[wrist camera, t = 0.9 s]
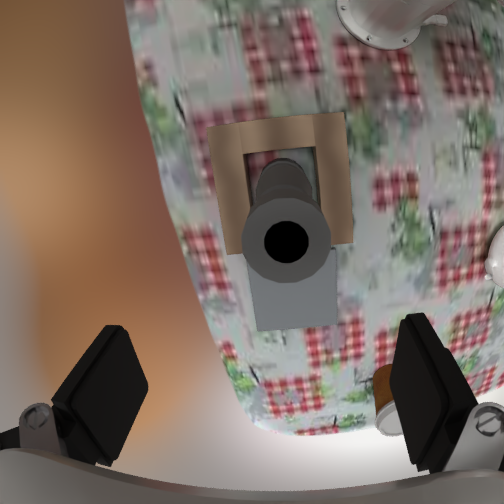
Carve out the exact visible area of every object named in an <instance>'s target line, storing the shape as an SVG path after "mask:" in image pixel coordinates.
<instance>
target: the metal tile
mask: <svg viewBox="0 0 504 504" xmlns="http://www.w3.org/2000/svg"><path fill="white" fill-rule="evenodd" d="M246 261H247V260H246ZM247 267H248V274H249V280H250V287H251V293H252V300H253V306H254V313H255V319H256V325H257V331H270V330H283V329H295V328H307V327H317V326H327V325H336V324H337V274H336V249H335V248H331V250H330V253H329V255H328V257H327V259H326V262H325V264H324V265H323V266H322V267H321V268H320V269H319V270H318V271H317V272H316V273H315V274H314V275H313V276H311V277H309V278H306V279H304V280H301V281H299V282H297V283H277V282H274V281H271V280H268V279H265V278H263V277H262V276H260V275H259V274H258V273H257V272H256V271H254V270H253V269H252V268H251V267H250V266H249V264H248V262H247Z"/></svg>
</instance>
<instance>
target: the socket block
mask: <svg viewBox="0 0 504 504" xmlns="http://www.w3.org/2000/svg"><path fill="white" fill-rule="evenodd" d="M206 130H207V136H208V143H209V149H210V156H211V162H212V168H213V175H214V181H215V187H216V193H217V199H218V205H219V211H220V217H221V223H222V229H223V235H224V241H225V247H226V252H227V255H231V254H241V253H242V242H241V234H242V231H243V228H244V225H245V222H246V220H247V217H248V214H249V211H250V209H251V207H252V206H253V199H252V192H251V185H250V178H249V171H248V164H247V157H246V153H254V152H262V151H270V150H279V149H289V148H299V147H310V146H312V147H313V156H314V165H315V175H316V186H317V197H318V205H319V207H320V209H321V211H322V213H323V215H324V217H325V219H326V221H327V224H328V226H329V228H330V231H331V245H335V244H346V243H353V219H352V199H351V183H350V169H349V157H348V147H347V137H346V127H345V119H344V112H339V113H322V114H309V115H297V116H287V117H277V118H268V119H260V120H252V121H245V122H238V123H231V124H225V125H219V126H213V127H207V128H206Z"/></svg>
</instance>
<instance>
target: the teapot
mask: <svg viewBox="0 0 504 504" xmlns="http://www.w3.org/2000/svg"><path fill="white" fill-rule="evenodd" d="M485 269H486V272H487V275H486V276H485V279H486V280H490V279H493V281H494V282H495V283H496V284H497V285H499V286H500V287H502V288H504V225H503V226H502V227H501V228H500V229H499V231H498V232H497V233H496V235H495V236H494V238H493V240H492V243H491V245H490V249H489V253H488V258H487V259H486V261H485Z"/></svg>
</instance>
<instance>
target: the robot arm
mask: <svg viewBox="0 0 504 504" xmlns="http://www.w3.org/2000/svg"><path fill="white" fill-rule="evenodd" d="M455 1H456V0H336V7H337V13H338V15H339V18H340V20H341V22H342V23H343V25H344V26H345V28H346V29H347V30H348V31H349V32H350V33H351V34H352V35H353V36H354V37H355V38H357V39H358V40H360V41H361V42H363V43H365V44H367V45H369V46H371V47H374V48H378V49H382V50H397V49H401V48H404V47H406V46H408V45H409V44H411V43H412V42H413V41H414V40H415V39H416V38H417V37H418V35H419V33H420V30H421V26H422V25H425V26H427V25H428V24H434V25H437V26H443V27H446V26H447V23H448V21H447V17H446V16H445V15H441V14H436V13H437V12H439V11H441V10H442V9H444V8H445V7H447V6H448V5H450V4H452V3H453V2H455ZM497 1H498V2H499V3H500V4H501V5H502V6H503V7H504V0H497ZM341 9H344V11H343V10H341ZM366 38H368V39H369V41H368V40H367V39H366ZM403 40H404V41H405V42H404V41H403ZM389 385H390V389H391V393H392V396H393V399H394V403H395V406H396V409H397V413H398V416H399V420H400V423H401V427H402V431H403V434H404V438H405V442H406V446H407V450H408V454H409V457H410V461H411V463H412V464H413V465H414V464H416V466H417V469H418V472H420V471H424V470H428V469H429V472H430V474H428V475H424V476H418V477H412V478H408V479H402V480H397V481H391V482H385V483H378V484H371V485H363V486H355V487H347V488H337V489H325V490H310V491H245V490H227V489H216V488H206V487H197V486H190V485H182V484H176V483H169V482H163V481H158V480H153V479H147V478H143V477H138V476H133V475H129V474H125V473H121V472H117V471H113V470H109V469H105V468H101V467H98V466H95V464H96V462H97V463H98V464H101V465H105V466H108V467H111V465H112V463H113V461H114V460H116V459H117V458H118V457H119V454H120V452H121V450H122V448H123V445H124V443H125V441H126V438H127V436H128V434H129V432H130V430H131V427H132V425H133V423H134V421H135V418H136V416H137V414H138V412H139V410H140V407H141V405H142V403H143V401H144V399H145V396H146V394H147V392H148V382H147V380H146V377H145V375H144V373H143V370H142V368H141V365H140V363H139V360H138V358H137V355H136V353H135V350H134V347H133V345H132V342H131V339H130V337H129V334H128V332H127V331H126V330H124V328H123V327H122V326H120V325H106V326H105V327H104V328H103V330H102V331H101V332H100V333H99V335H98V336H97V337H96V339H95V340H94V341H93V343H92V344H91V345H90V346H89V348H88V349H87V350H86V352H85V353H84V354H83V356H82V357H81V358H80V360H79V361H78V362H77V364H76V365H75V367H74V368H73V370H72V371H71V372H70V374H69V375H68V376H67V378H66V379H65V380H64V382H63V383H62V385H61V386H60V387H59V389H58V391H57V392H56V393H55V395H54V396H53V397H52V399H51V401H52V402H53V404H54V405H53V406H52V408H51V407H50V406H49V405H48V404H45V403H36V404H33V405H31V406H29V407H28V408H26V409H25V410H24V411H23V412H22V414H21V416H20V418H19V426H18V427H15V428H13V429H10V430H8V431H5V432H2V433H0V504H504V407H503V406H501V405H499V404H497V403H493V402H485V403H481V404H478V402H477V400H476V398H475V396H474V394H473V392H472V390H471V388H470V386H469V384H468V383H467V381H466V379H465V377H464V375H463V373H462V371H461V370H460V368H459V366H458V364H457V362H456V361H455V359H454V357H453V355H452V354H451V352H450V351H449V349H447V348H444V346H443V344H442V342H441V341H440V339H439V337H438V336H437V334H436V332H435V330H434V329H433V327H432V325H431V324H430V322H429V320H428V319H427V317H426V316H425V314H424V313H415V314H407V315H406V317H405V319H402V320H401V322H400V327H399V333H398V338H397V344H396V349H395V354H394V359H393V364H392V369H391V373H390V378H389Z"/></svg>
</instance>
